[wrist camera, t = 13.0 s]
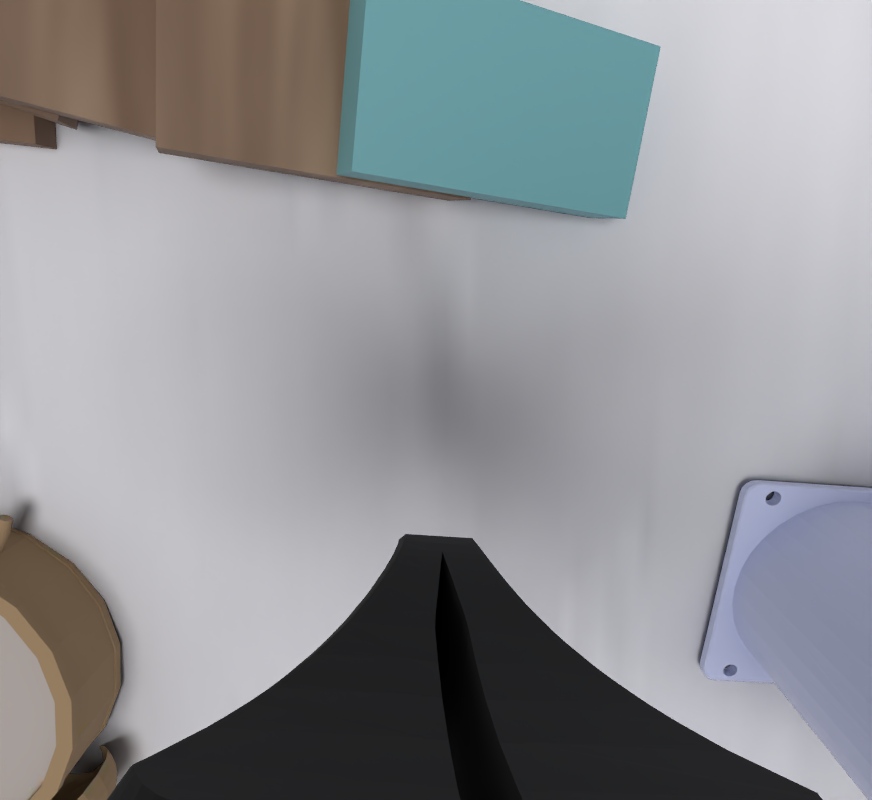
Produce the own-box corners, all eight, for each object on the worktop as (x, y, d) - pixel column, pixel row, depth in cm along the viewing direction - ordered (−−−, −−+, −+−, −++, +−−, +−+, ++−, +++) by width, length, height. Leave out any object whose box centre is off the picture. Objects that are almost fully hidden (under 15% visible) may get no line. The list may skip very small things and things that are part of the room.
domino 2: (494, 23, 15) (156, -81, 12) (470, 199, 16) (155, 146, 13) (468, 39, 17) (159, -50, 14) (448, 200, 18) (159, 152, 15)
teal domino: (660, 46, 16) (370, -49, 12) (625, 218, 17) (351, 171, 14) (621, 60, 17) (351, -23, 14) (591, 218, 18) (336, 174, 15)
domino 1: (292, -13, 15) (-127, -192, 11) (267, 166, 16) (-122, 63, 12) (277, 2, 16) (-102, -153, 12) (255, 166, 17) (-99, 74, 13)
